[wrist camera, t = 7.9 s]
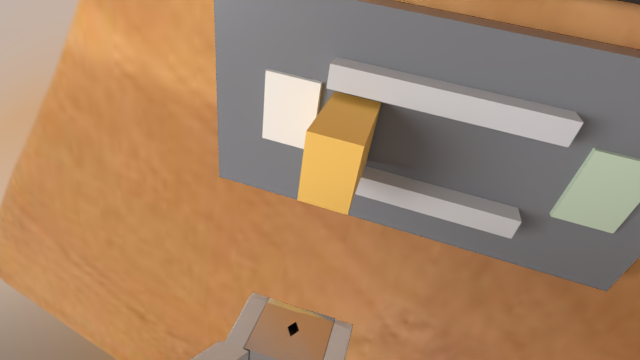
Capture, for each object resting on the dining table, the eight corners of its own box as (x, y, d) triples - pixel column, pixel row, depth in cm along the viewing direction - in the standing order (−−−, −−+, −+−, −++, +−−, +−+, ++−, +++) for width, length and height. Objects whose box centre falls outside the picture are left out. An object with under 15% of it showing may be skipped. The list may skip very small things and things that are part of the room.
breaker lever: (381, 102, 18) (364, 146, 14) (366, 162, 20) (347, 214, 16) (334, 91, 18) (306, 131, 15) (324, 151, 20) (297, 200, 17)
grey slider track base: (761, 73, 15) (824, 102, 13) (594, 265, 22) (614, 308, 20) (233, -32, 19) (199, -27, 16) (233, 161, 26) (210, 186, 23)
